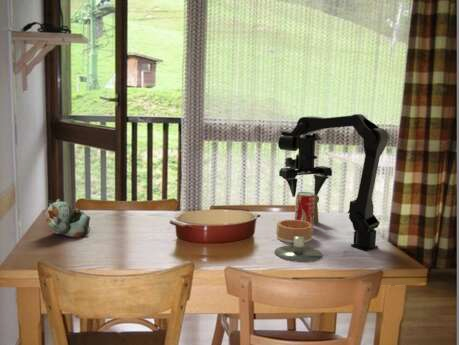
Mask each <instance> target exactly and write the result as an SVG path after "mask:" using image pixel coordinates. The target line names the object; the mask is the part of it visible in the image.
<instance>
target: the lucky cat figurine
mask: <svg viewBox="0 0 459 345" xmlns="http://www.w3.org/2000/svg"><path fill="white" fill-rule="evenodd" d="M47 201H48V202H47V203H48V204H47V210H46V212H45V217H46V223H47V224H48V226H49V227H50V228H51V229H52V230H53V233H54V234H55V235H64V236H67V237H71V238H73V239H80V238H85V237H86V236H87V235H89V234H90V232H91V227H90V221H91V218H90V217H91V216H88V215H87V214H86V213H85V212H84V211H82V210H81V209H80V208H78V207H76V208H75V209H72V207H71V206H70V204H69V202H66V201H62V200H61V199H59V198H58V199H56V201H53V200H50V199H49V200H47Z"/></svg>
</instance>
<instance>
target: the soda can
mask: <svg viewBox="0 0 459 345" xmlns="http://www.w3.org/2000/svg"><path fill="white" fill-rule="evenodd" d="M314 194H315V192H314V193H313V192H309V191H298V192H296V195H295V207H294V210H295V211H294V220H301V221H306V222H309V223H311V224H312V225H313V227H314V225H315V224H314V210H315V197H314Z"/></svg>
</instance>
